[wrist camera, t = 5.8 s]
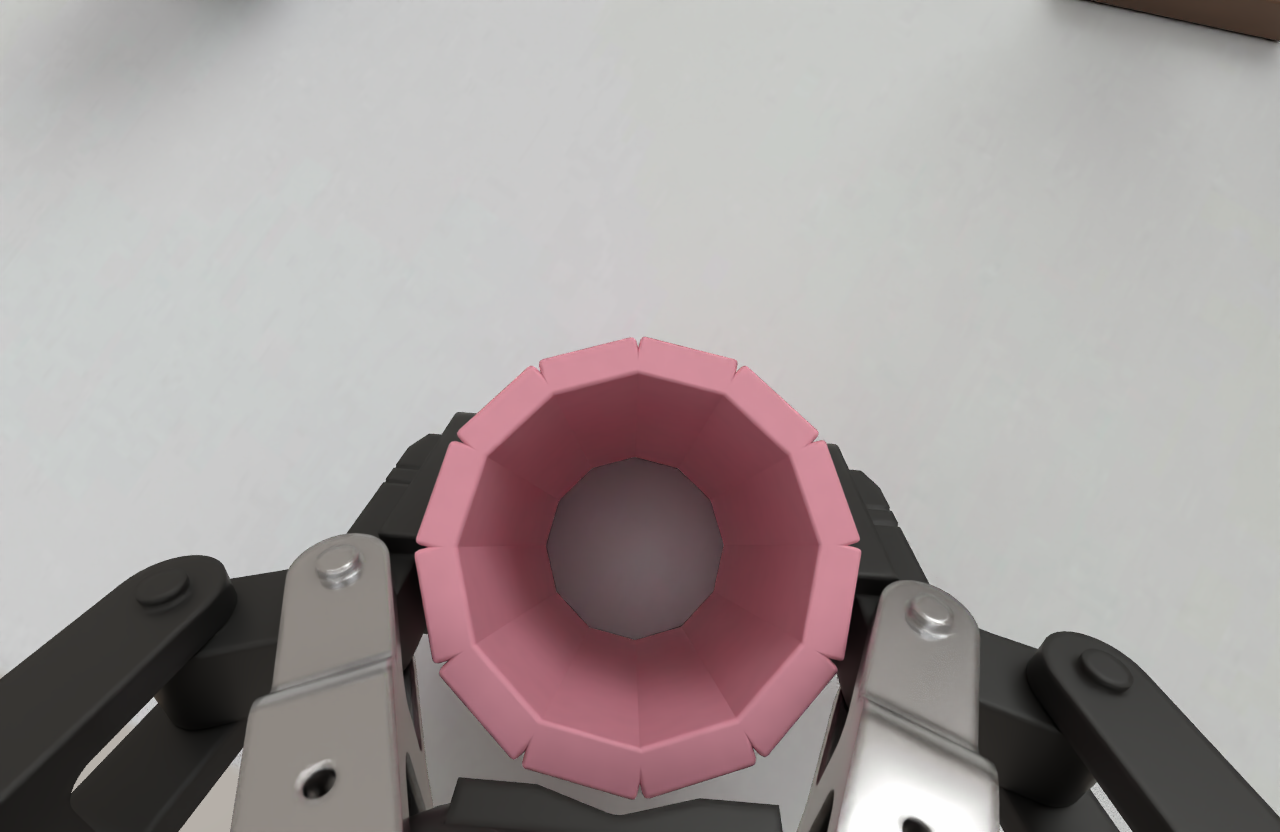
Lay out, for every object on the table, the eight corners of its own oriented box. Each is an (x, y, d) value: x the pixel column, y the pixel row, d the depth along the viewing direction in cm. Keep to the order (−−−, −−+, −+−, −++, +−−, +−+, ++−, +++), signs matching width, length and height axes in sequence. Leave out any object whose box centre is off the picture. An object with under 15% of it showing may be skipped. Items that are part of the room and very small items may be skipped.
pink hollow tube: (563, 417, 16) (498, 298, 8) (761, 469, 16) (889, 396, 8) (499, 626, 15) (349, 719, 7) (714, 687, 14) (814, 855, 7)
